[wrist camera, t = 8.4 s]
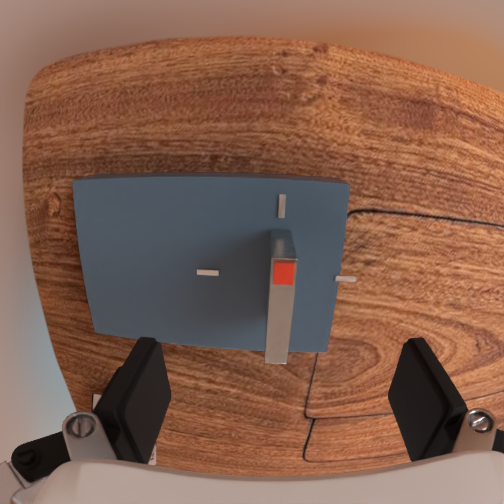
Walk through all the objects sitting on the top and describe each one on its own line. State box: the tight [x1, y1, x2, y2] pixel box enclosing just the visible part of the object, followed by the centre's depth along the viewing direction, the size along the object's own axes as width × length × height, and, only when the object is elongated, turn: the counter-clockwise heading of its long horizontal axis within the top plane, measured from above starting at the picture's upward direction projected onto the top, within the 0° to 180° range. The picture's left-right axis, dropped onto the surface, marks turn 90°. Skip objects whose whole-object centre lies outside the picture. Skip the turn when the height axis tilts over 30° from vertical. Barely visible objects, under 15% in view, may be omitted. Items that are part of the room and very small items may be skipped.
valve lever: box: [264, 229, 298, 364], centre depth 17 cm, size 6×1×5 cm, turn 178°
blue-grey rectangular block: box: [72, 172, 356, 352], centre depth 21 cm, size 19×12×3 cm, turn 88°
